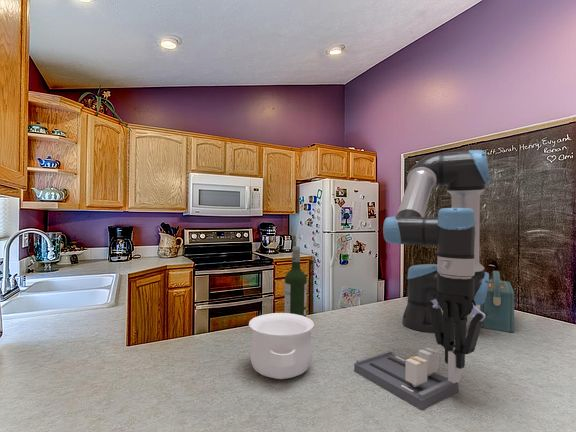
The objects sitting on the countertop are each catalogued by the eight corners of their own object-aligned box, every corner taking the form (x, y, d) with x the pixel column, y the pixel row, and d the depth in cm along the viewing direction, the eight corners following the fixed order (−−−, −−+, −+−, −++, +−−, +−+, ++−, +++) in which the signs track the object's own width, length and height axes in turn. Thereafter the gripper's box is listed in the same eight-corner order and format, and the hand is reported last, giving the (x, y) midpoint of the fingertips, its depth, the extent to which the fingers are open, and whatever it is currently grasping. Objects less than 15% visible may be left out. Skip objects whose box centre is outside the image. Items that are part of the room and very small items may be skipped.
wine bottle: (310, 330, 114) (311, 247, 114) (292, 335, 109) (293, 248, 109) (297, 324, 120) (298, 245, 120) (279, 328, 116) (281, 246, 116)
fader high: (417, 374, 77) (418, 349, 77) (427, 370, 80) (428, 346, 80) (428, 379, 75) (429, 354, 75) (438, 375, 77) (438, 350, 77)
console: (354, 371, 84) (354, 360, 84) (389, 359, 91) (389, 349, 91) (421, 410, 67) (421, 396, 67) (458, 391, 74) (458, 379, 74)
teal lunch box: (515, 334, 113) (515, 278, 114) (479, 328, 119) (480, 275, 119) (510, 316, 135) (510, 269, 135) (480, 312, 141) (481, 267, 141)
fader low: (405, 385, 72) (405, 358, 72) (416, 380, 74) (416, 354, 74) (416, 391, 70) (416, 363, 70) (427, 386, 72) (427, 359, 72)
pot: (323, 388, 75) (323, 336, 75) (249, 393, 72) (250, 340, 72) (304, 350, 97) (304, 310, 97) (246, 353, 94) (247, 312, 94)
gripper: (419, 272, 76) (418, 372, 75) (476, 282, 65) (475, 399, 64) (438, 270, 80) (437, 365, 79) (494, 279, 69) (493, 388, 68)
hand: (454, 380), depth 72 cm, fingers closed
